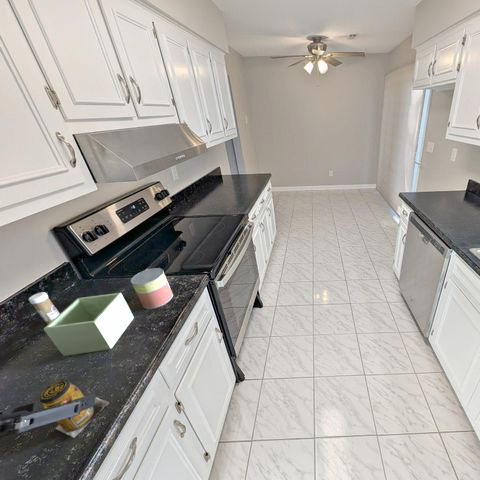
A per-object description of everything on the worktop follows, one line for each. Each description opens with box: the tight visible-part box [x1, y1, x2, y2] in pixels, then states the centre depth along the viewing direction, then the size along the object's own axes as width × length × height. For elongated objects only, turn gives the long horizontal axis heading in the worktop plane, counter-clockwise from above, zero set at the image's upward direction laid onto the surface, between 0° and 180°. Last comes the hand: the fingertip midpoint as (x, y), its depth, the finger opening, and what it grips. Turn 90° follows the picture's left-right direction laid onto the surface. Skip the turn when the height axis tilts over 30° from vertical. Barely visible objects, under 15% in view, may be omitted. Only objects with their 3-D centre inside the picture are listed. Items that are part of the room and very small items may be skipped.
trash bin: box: [43, 292, 135, 357], centre depth 87 cm, size 15×15×12 cm
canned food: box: [130, 267, 174, 310], centre depth 103 cm, size 11×11×12 cm
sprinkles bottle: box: [28, 291, 61, 325], centre depth 93 cm, size 5×5×14 cm
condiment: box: [39, 379, 110, 439], centre depth 62 cm, size 7×8×12 cm
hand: (62, 404), depth 60 cm, fingers open, 13 cm apart
